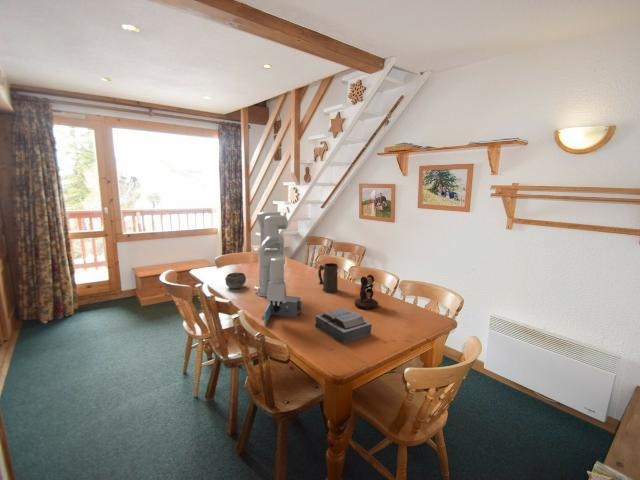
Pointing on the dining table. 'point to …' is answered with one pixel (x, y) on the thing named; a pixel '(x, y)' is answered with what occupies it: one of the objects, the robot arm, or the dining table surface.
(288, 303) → the camera body
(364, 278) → the brown figurine
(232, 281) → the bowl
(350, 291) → the dining table surface
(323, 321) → the grey stacked slabs
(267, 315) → the side door
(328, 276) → the beer stein
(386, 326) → the dining table surface
